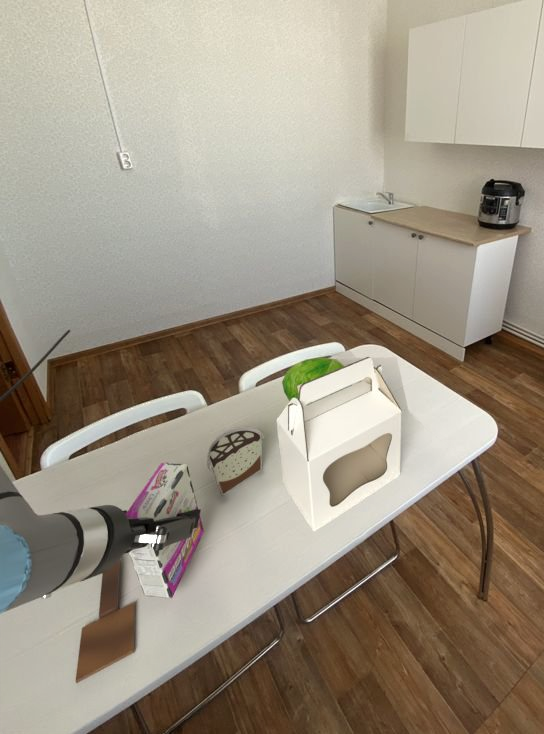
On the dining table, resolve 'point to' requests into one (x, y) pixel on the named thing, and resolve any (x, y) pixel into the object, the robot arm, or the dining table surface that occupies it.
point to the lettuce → (308, 374)
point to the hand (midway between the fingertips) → (181, 516)
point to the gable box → (339, 441)
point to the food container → (235, 457)
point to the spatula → (107, 630)
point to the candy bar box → (159, 501)
